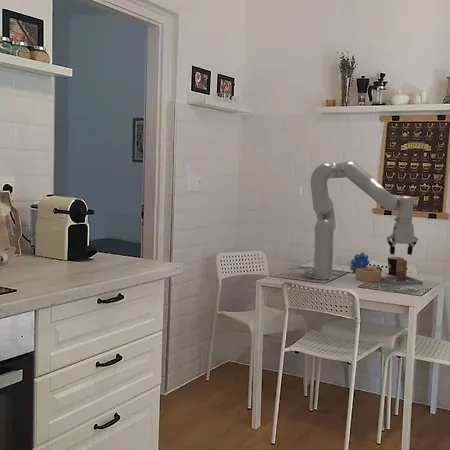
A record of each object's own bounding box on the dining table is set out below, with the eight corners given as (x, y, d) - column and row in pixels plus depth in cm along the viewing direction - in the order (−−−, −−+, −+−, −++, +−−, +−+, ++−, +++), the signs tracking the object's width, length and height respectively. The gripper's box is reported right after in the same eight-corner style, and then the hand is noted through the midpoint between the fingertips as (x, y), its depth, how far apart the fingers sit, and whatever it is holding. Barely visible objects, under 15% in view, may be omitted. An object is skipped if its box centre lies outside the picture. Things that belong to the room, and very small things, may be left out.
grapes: (363, 272, 343) (365, 251, 342) (371, 274, 337) (372, 253, 336) (345, 273, 339) (346, 251, 338) (352, 275, 333) (353, 253, 332)
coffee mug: (403, 278, 329) (404, 259, 328) (387, 277, 331) (388, 258, 330) (402, 274, 341) (403, 256, 340) (385, 273, 342) (386, 255, 341)
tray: (393, 287, 306) (393, 282, 306) (379, 281, 319) (379, 276, 319) (422, 286, 310) (422, 281, 310) (407, 280, 323) (407, 275, 323)
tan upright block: (398, 283, 312) (399, 261, 311) (393, 281, 316) (394, 259, 315) (407, 282, 313) (408, 261, 312) (402, 281, 318) (403, 259, 317)
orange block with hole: (363, 283, 313) (364, 271, 313) (355, 279, 322) (356, 268, 322) (380, 282, 316) (381, 271, 315) (372, 279, 325) (372, 267, 324)
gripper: (392, 221, 305) (389, 255, 307) (423, 222, 310) (420, 255, 312) (384, 219, 313) (381, 252, 315) (415, 220, 317) (412, 253, 319)
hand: (400, 254), depth 313 cm, fingers open, 9 cm apart
